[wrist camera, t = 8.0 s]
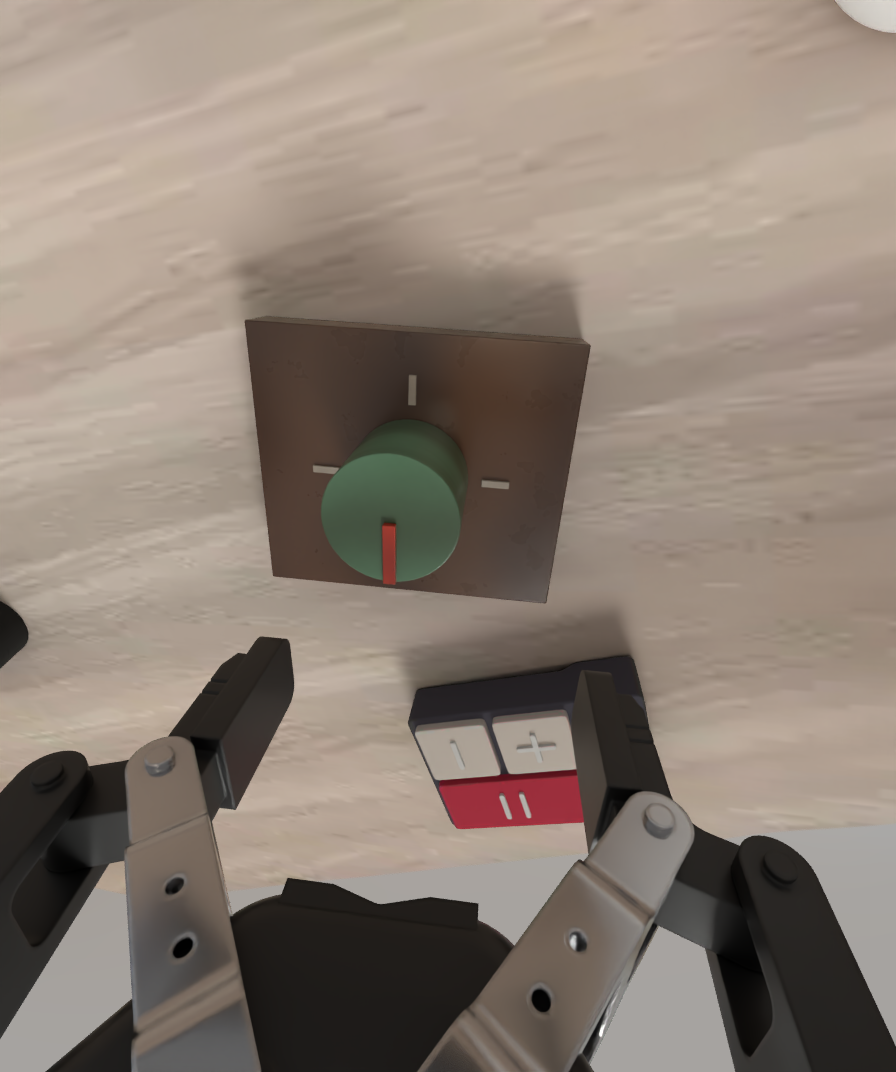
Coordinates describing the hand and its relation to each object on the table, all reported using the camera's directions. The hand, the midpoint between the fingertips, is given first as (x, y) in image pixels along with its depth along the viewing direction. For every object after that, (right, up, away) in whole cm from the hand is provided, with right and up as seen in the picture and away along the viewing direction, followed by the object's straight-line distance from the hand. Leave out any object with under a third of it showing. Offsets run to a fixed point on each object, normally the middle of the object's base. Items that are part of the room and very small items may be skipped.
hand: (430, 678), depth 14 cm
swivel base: (-1, +8, +15) cm, 17 cm away
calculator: (+7, -10, +23) cm, 26 cm away
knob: (-1, +7, +13) cm, 14 cm away
